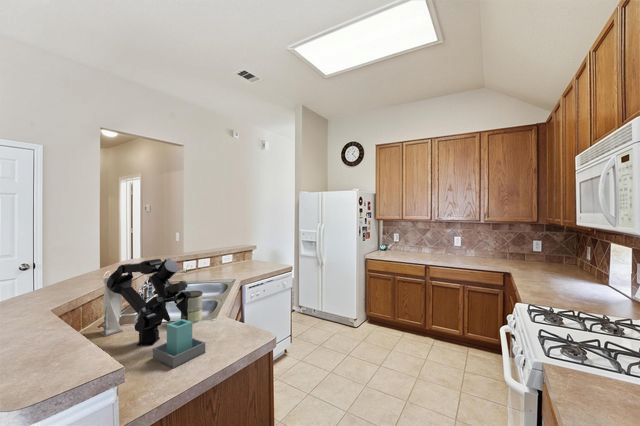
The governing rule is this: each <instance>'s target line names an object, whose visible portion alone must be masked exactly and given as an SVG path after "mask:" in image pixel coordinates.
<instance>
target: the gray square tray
mask: <svg viewBox="0 0 640 426" xmlns="http://www.w3.org/2000/svg"><path fill="white" fill-rule="evenodd" d="M204 354H206V342H205V341H202V340H200V339H197V338H194V337H192V348H191V349H189V350H187V351H184V352H182V353H180V354H178V355H176V356H172V355H170V354H168V353H167V342H165V343H163V344H159V345H158V346H155V347H152V360H155V361H156V362H159V363H160V364H163V365H164V366H166V367H169V368H171V369H175V368H178V367H180V366H183V364H186V363H187V362H190V361H191V360H193V359H196V358H199V356H201V355H204Z"/></svg>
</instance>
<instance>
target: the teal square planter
mask: <svg viewBox="0 0 640 426" xmlns="http://www.w3.org/2000/svg"><path fill="white" fill-rule="evenodd" d="M192 338H193V324H192V322H190V321H187V320H184V319H181V318H180V319H179V320H175V321H173V322H170V323H167V324H166V343H167V353H168V354H170V355H172V356H176V355H178V354H180V353H182V352H184V351H187V350H189V349H191V348H192Z"/></svg>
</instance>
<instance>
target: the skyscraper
mask: <svg viewBox="0 0 640 426" xmlns="http://www.w3.org/2000/svg"><path fill="white" fill-rule="evenodd" d="M107 273H109V274H108V276H106V274H107ZM111 274H112V271H111V270H107V271H106V272H105V273H104V274H103V276H102V279H103V283H104V287H105V288H104V293H103V302H102V305H103V307H102V308H103V315H104V317H103V320H104V321H103V322H104V324H103V325H104V326H103V330H101V331H99V332H98V333H99V335H102V336H103V337H107V336H111V335H114V334H117V333H122V332H123V331H124V330H123V329H122V328H121V325H120V317H121V313H122V312H121V311H122V307H123V306H122V305H123V304H122V303H123V296H122V295H121V294H118V293H114V292H112V291H111V290H110V289H109V288H108V287H107V281H108V279H109V277H110V275H111ZM122 275H123V274H122ZM122 275H121V276H122Z"/></svg>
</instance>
